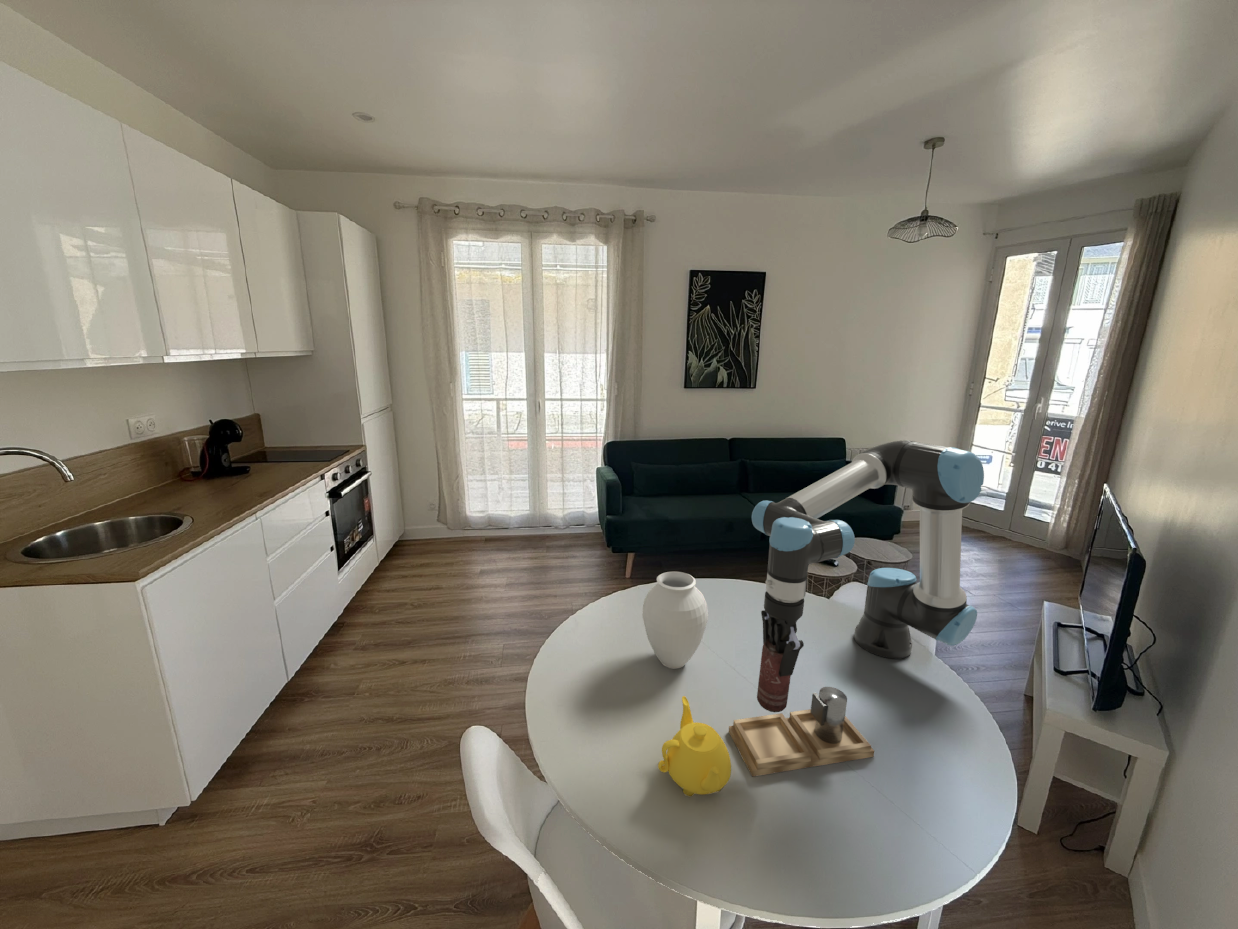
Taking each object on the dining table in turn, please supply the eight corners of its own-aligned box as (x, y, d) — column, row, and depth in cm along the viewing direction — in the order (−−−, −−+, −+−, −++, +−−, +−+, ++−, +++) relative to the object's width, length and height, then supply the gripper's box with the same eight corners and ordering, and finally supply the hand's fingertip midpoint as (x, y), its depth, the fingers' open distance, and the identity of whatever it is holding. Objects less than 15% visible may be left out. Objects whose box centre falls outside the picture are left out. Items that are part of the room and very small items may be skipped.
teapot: (646, 743, 106) (647, 699, 103) (709, 734, 108) (712, 691, 106) (672, 831, 86) (674, 779, 84) (748, 817, 89) (753, 767, 86)
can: (789, 716, 98) (797, 656, 95) (757, 710, 100) (764, 652, 96) (785, 695, 104) (793, 639, 101) (755, 690, 105) (761, 635, 102)
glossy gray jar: (831, 722, 110) (836, 685, 108) (847, 742, 105) (852, 703, 102) (806, 726, 109) (810, 688, 106) (820, 746, 103) (825, 706, 101)
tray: (838, 715, 114) (840, 705, 113) (873, 756, 103) (875, 745, 102) (728, 731, 109) (729, 720, 108) (752, 776, 98) (753, 764, 97)
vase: (632, 671, 129) (633, 587, 123) (652, 636, 145) (654, 560, 139) (697, 689, 123) (701, 601, 117) (711, 650, 139) (715, 571, 133)
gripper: (752, 580, 101) (744, 677, 107) (784, 613, 89) (772, 720, 94) (784, 578, 103) (775, 673, 108) (820, 609, 90) (807, 715, 96)
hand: (774, 695), depth 101 cm, fingers closed
